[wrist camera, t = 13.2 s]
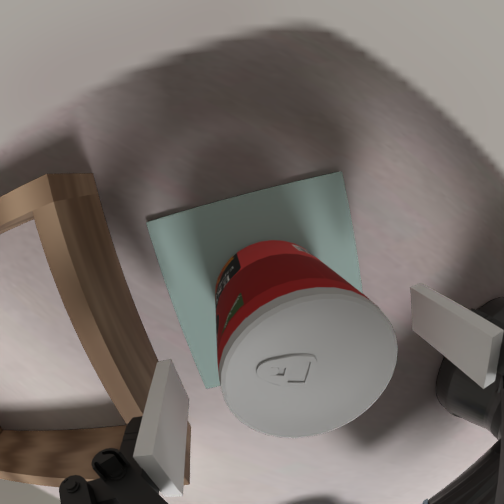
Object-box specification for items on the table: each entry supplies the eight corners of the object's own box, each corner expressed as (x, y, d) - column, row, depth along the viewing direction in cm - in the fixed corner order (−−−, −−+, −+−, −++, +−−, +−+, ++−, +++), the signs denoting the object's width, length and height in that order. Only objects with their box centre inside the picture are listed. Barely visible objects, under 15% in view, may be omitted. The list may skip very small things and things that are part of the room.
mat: (338, 171, 22) (341, 171, 22) (364, 336, 26) (367, 340, 25) (147, 221, 21) (146, 222, 21) (206, 384, 25) (206, 388, 24)
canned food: (207, 244, 22) (204, 309, 11) (321, 230, 22) (407, 276, 12) (222, 343, 23) (233, 452, 13) (324, 327, 24) (389, 416, 14)
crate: (92, 173, 20) (46, 173, 13) (191, 426, 26) (189, 484, 19) (-86, 264, 19) (-126, 283, 12) (2, 438, 24) (-18, 474, 18)
